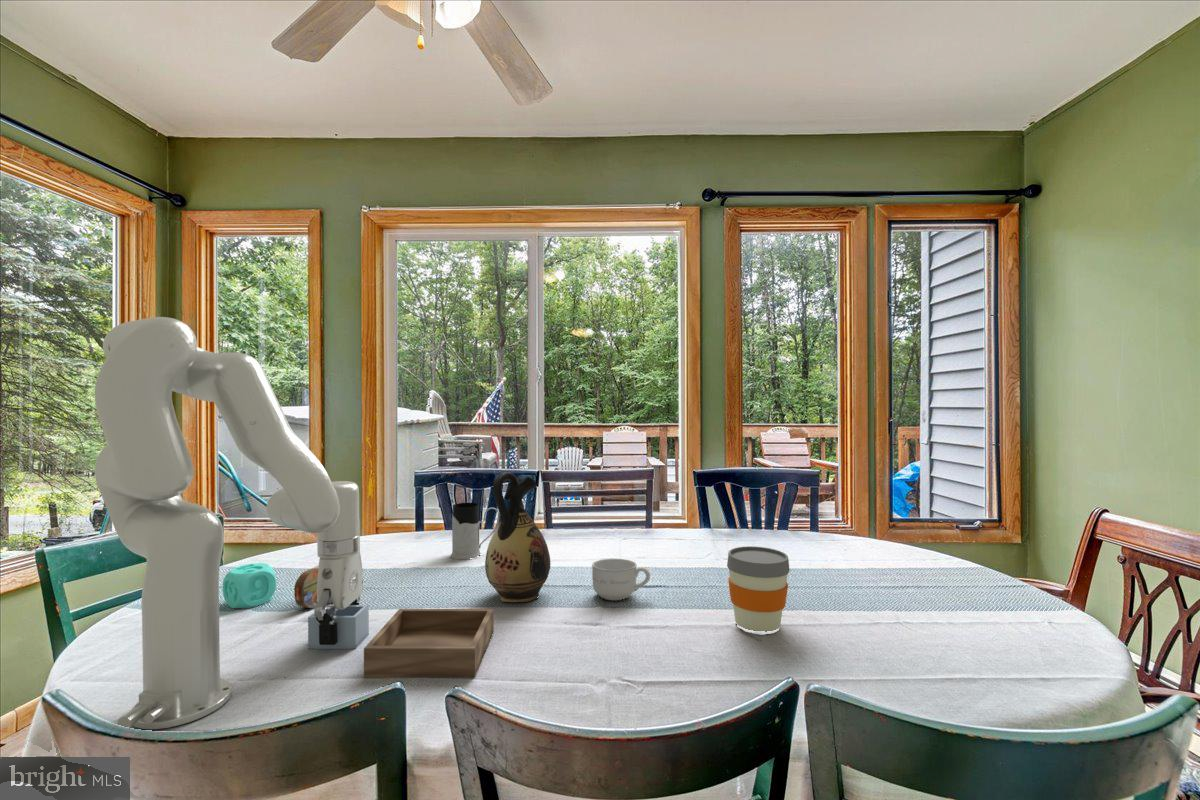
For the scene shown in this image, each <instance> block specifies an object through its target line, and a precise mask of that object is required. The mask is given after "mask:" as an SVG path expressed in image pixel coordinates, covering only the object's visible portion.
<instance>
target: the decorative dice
mask: <svg viewBox="0 0 1200 800" xmlns="http://www.w3.org/2000/svg"><path fill="white" fill-rule="evenodd" d="M276 590H277V578H276V573H275V570H274V569H273V567H272V566H271V565H269V564H268V563H264V562H263V563H262V562H254V563H253V562H252V563H246V564H242V565H238V566H235V567H233V568H231V569H230V570H229V571H228V572H227V573H226V575H225V576H224V578H223V580H222V595H223V599H224V601H225V604H226V605H227V606H229V607H230V608H231V609H234V608H246V609H250V608H249V607H252V608H256V607H259V606H262V605H265V604H266V603H268V602H267V601H270V600H271V598H272V597H273V596H274V594H275V592H276ZM261 604H262V605H261ZM258 605H259V606H258ZM255 606H256V607H255Z"/></svg>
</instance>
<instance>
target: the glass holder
mask: <svg viewBox="0 0 1200 800" xmlns="http://www.w3.org/2000/svg"><path fill="white" fill-rule="evenodd" d="M479 505H480V504H479V503H476V502H460V503H459V502H458V503H455V504H453V505H452V513H451V516H452V517H451V521H452V523H451V526H452V528H451V530H452V532H451V534H452V535H451V536H452V537H451V538H452V539H451V540H452V541H451V542H452V546H451V547H452V548H451V549H452V552H451V554H450V558H451V557H452V558H451V559H453V558H455V559H454V560H457V559H468V560H471V559H470V558H474V559H476V558H475V557H477V556H479V555H480V554H481V555H482V553H481V551H480V549H481V547H482V544H484V543H485V542H486V541H487V540H488V539H489V538H490V537H492V536H493V534H494V532H495V531H496V529H497V527H498V525H499V523H500V522H499V521H500V513H499V511H498V508H495V507H489V508H486V510H485V511H484V515H483V520H482V521H480V518H479V517H480V514H479V513H480V512H479V510H480V506H479ZM489 510H494V511H496V512H497V521H496V524H495V527H494V529H493V530H492V532H491V533H490V534H489V535H488V536H487V537H485V538H484V539H483V540H482V541H481V542H480V524H483V523H484V522H486V516H487V513H488V511H489ZM479 557H480V556H479ZM477 558H478V557H477Z"/></svg>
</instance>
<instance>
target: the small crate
mask: <svg viewBox="0 0 1200 800" xmlns="http://www.w3.org/2000/svg"><path fill="white" fill-rule="evenodd" d="M329 606H334V605H329ZM369 608H370V607H369V604H359V605H349V606H348V607H346V608H345V609H344V610H340V609H338V613H337V616H336V620H335V623H337V634H338V642H337V643H336V644H335V645H320V644H319V625H318V624H317V622H318V621H317V620H316V615H315V612H313V613H312V614H310V615H309V616H308V617H307V640H308V641H307V642H308V643H307V645H308V646H307V647H308V648H307V649H308V650H311V649H312V650H321V649H325V650H327V649H329V650H333V649H334V650H336V649H337V650H338V649H341V650H343V649H345V650H347V649H349V650H352V649H353V650H354V649H355V650H356V649H357V648H359V646H360V645H361V644H362V643H363V642H364V641H365V640H366V639H367V637H368V636H369V635H370V633H369V632H370V631H369V630H370V627H369V626H370V624H369V623H370V622H369V621H370V620H369V618H370V617H369V614H370V612H369ZM326 613H328V615H329V616H330V617H331V614H332V611H326Z"/></svg>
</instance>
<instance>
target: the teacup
mask: <svg viewBox="0 0 1200 800" xmlns="http://www.w3.org/2000/svg"><path fill="white" fill-rule="evenodd" d="M637 566H638V564H637V563H636V561H632V560H630V559H626V558H625V559H624V558H605V559H603V558H602V559H598V560H596V561H593V562H592V564H591V567H592V587H593V590H594V592H595V593H596V594H597V595H598V596H600V597H601V599H603V598H604V600H606V601H607V600H608V601H623V600H626V599H628V598H629V597H630V596H631V595H632V594H634V592H637V591H638V590H639V588H641V587H644V586H645V585H647V583H648V582H649V581H650V579H651V573H650V571H649V569H648V568H647V567H645V566H639V567H637ZM640 572H643V573H644V574H645V579H644V580H642V581H640V582H637V577H638V576H639V573H640ZM625 598H626V599H625ZM622 599H623V600H622Z"/></svg>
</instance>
